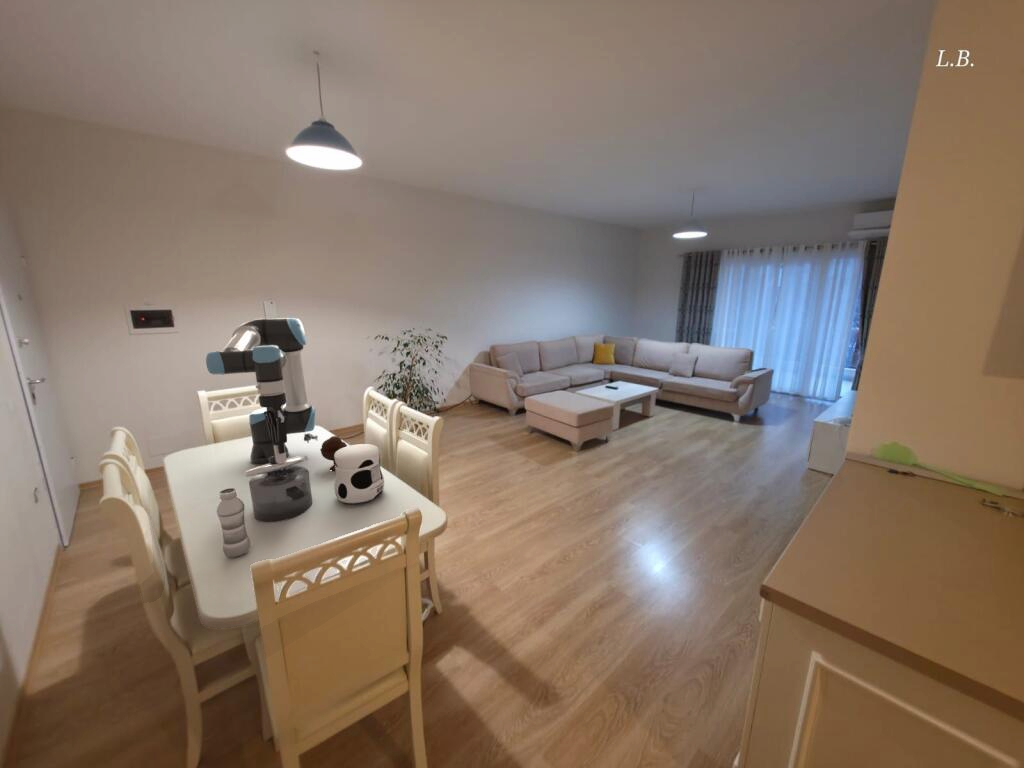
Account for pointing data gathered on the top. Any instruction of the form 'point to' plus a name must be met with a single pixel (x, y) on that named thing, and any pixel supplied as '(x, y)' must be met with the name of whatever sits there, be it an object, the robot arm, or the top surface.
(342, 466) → the milk container
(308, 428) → the robot arm
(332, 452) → the brown miniature tree
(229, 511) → the plastic bottle
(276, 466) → the lid
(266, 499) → the pot
